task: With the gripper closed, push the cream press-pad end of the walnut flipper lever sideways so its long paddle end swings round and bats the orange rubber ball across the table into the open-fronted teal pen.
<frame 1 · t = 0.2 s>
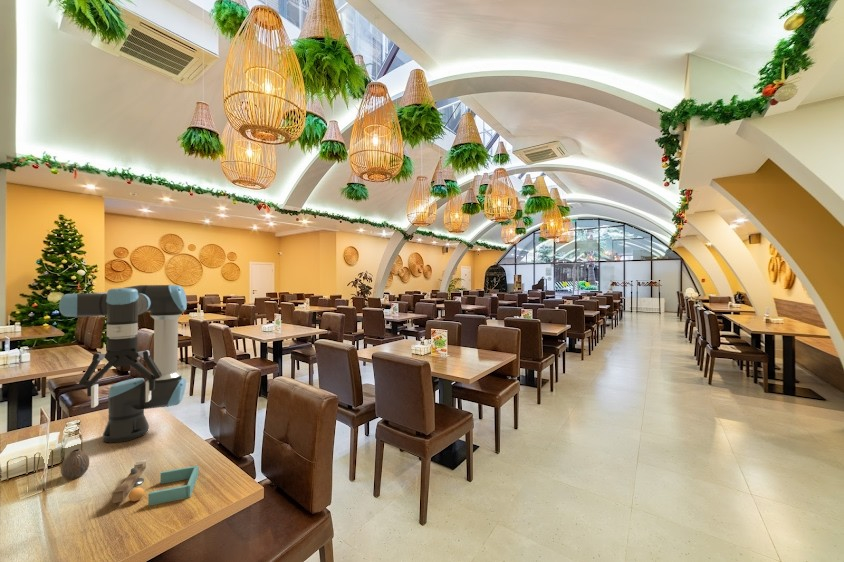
hand: (122, 403, 110), 28 cm above the table, fingers open, 13 cm apart
pivot base: (134, 483, 114), on the table
ball: (136, 494, 106), point 2 cm above the table
pen: (174, 489, 111), on the table
vase: (75, 476, 118), on the table
lever: (130, 479, 111), point 3 cm above the table, hinge at 0.0°
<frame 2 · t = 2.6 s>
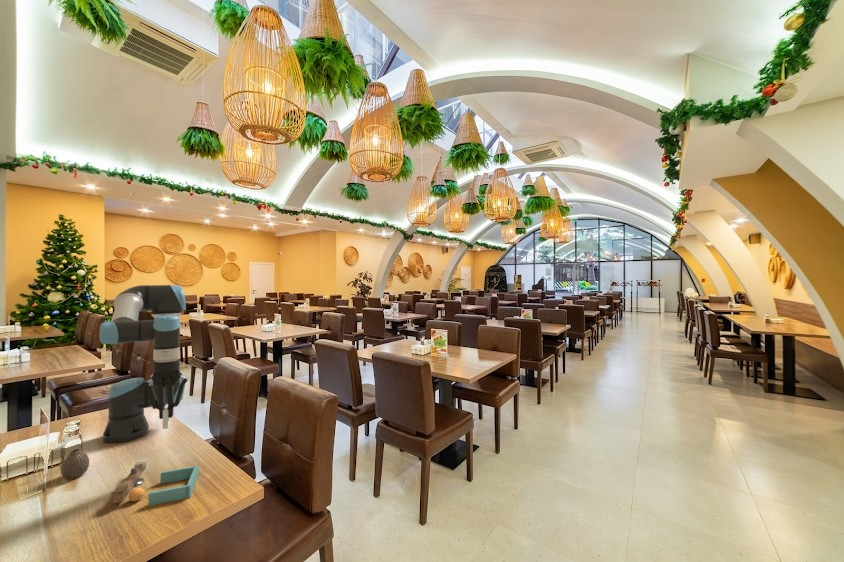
hand: (166, 427, 122), 16 cm above the table, fingers closed
nothing on the table moved.
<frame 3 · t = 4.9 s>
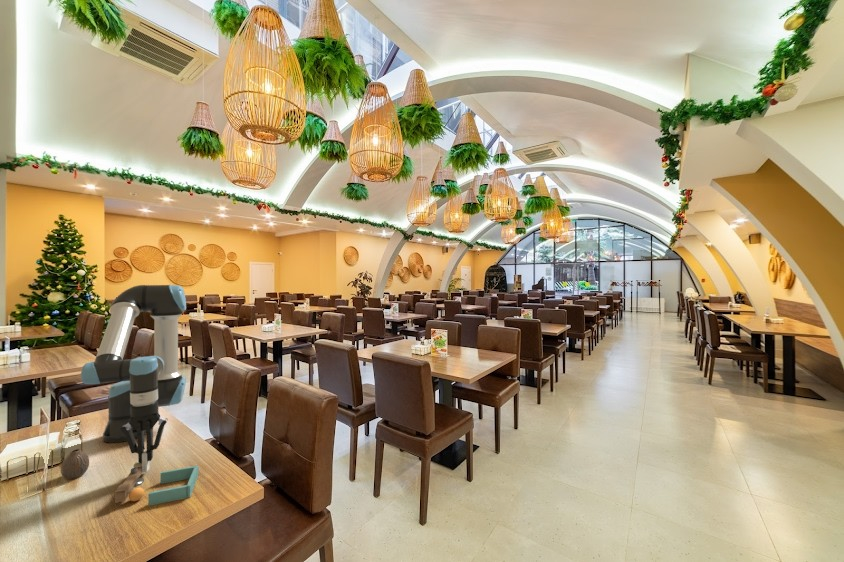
hand: (145, 470, 120), 1 cm above the table, fingers closed
lever: (131, 479, 111), point 3 cm above the table, hinge at 2.2°, touching gripper
everything else where it was.
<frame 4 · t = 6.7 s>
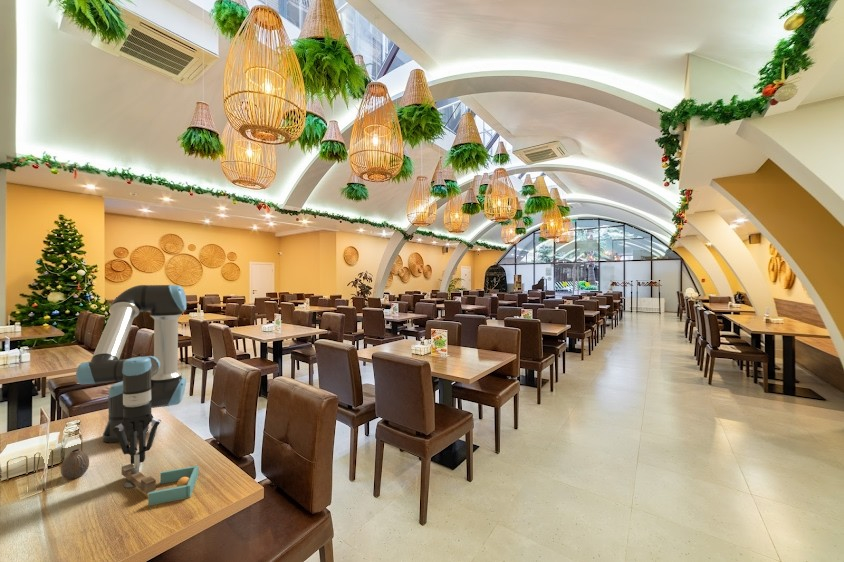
hand: (138, 471, 119), 1 cm above the table, fingers closed
ball: (183, 483, 112), point 2 cm above the table, tilted 15°
lever: (137, 477, 113), point 3 cm above the table, hinge at 34.5°, touching gripper
everything else where it was.
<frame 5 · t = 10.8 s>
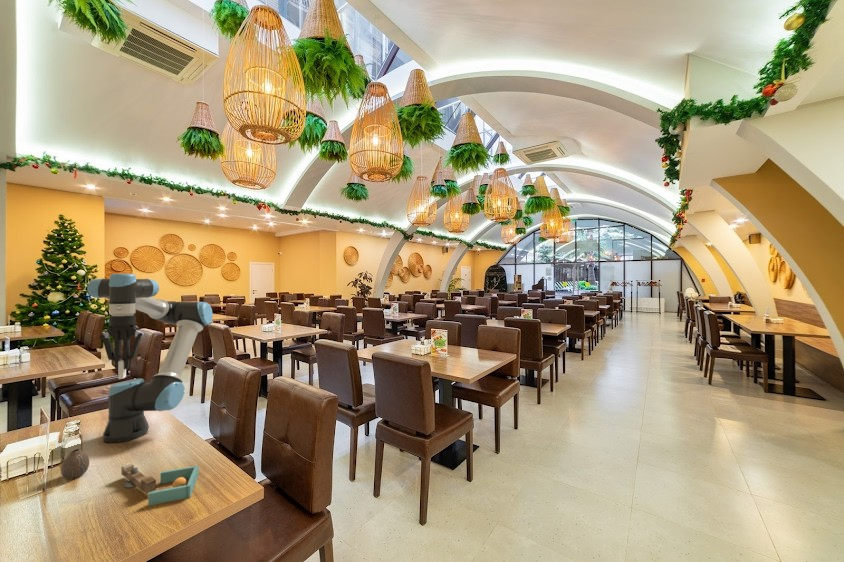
hand: (122, 377, 129), 30 cm above the table, fingers closed
ball: (179, 483, 111), point 2 cm above the table, tilted 22°
lever: (137, 477, 113), point 3 cm above the table, hinge at 34.8°
everything else where it was.
at the end: ball inside the target area on the pen (1.8 cm from its centre), point 1.8 cm above the pen's base; lever at +35° (first picture: +0°) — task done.
